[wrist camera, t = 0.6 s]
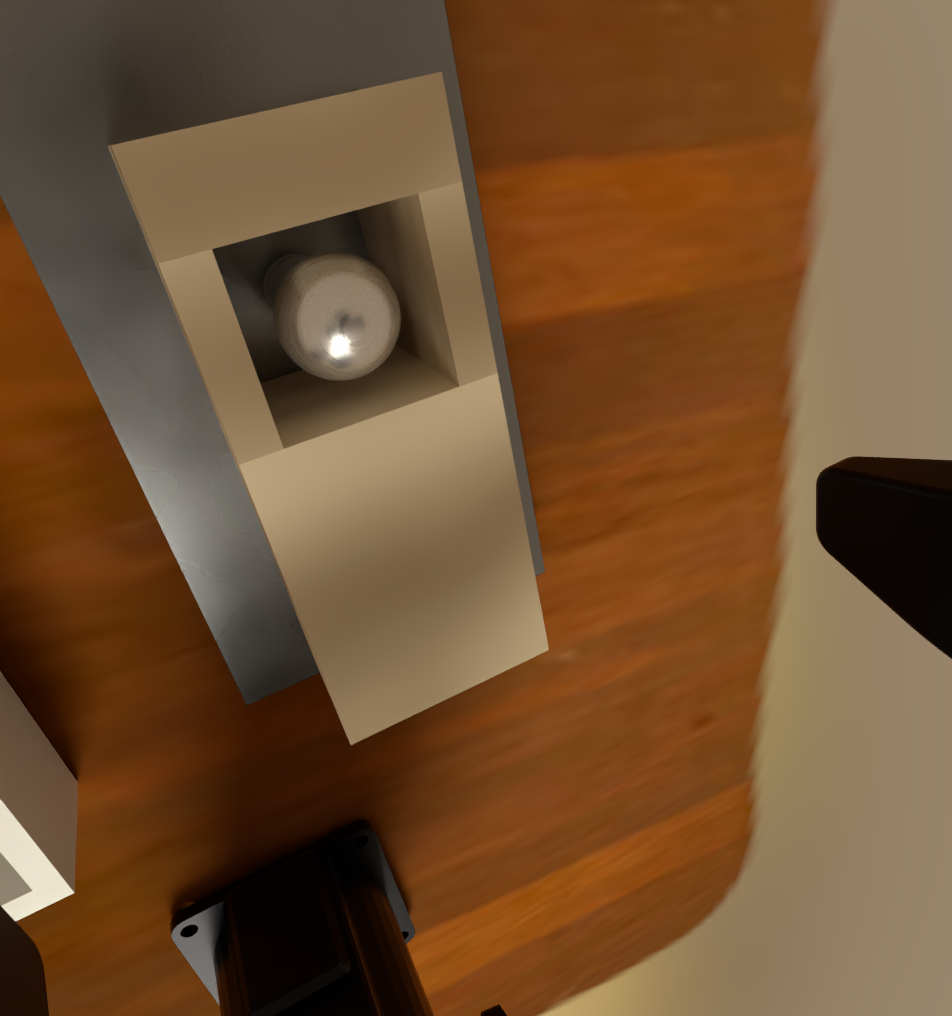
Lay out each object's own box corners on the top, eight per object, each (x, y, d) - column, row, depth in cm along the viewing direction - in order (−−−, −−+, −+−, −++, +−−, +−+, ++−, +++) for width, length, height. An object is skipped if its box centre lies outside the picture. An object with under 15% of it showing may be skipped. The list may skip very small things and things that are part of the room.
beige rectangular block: (478, 571, 21) (548, 649, 18) (308, 644, 19) (350, 745, 16) (365, 88, 15) (441, 71, 12) (108, 146, 13) (111, 146, 10)
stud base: (529, 556, 23) (632, 655, 18) (240, 682, 20) (280, 832, 16) (405, -102, 15) (537, -209, 10) (-99, -27, 12) (-212, -125, 8)
